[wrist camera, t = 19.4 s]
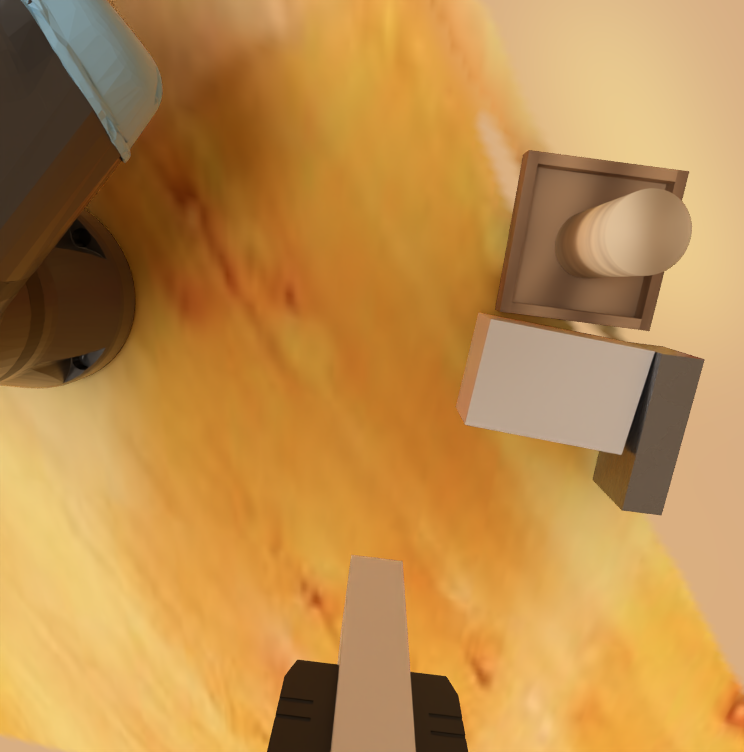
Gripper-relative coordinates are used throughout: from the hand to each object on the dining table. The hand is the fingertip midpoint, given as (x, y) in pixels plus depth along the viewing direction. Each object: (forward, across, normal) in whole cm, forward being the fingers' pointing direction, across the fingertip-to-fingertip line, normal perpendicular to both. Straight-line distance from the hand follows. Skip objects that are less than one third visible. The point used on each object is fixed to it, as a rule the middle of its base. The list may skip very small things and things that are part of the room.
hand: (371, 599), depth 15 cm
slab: (+28, +13, +2) cm, 31 cm away
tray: (+28, +14, +13) cm, 34 cm away
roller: (+27, +14, +13) cm, 34 cm away
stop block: (+28, +21, 0) cm, 35 cm away
